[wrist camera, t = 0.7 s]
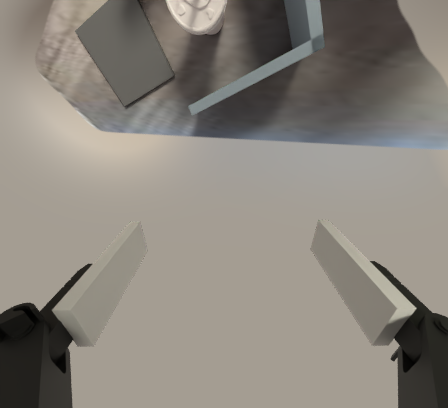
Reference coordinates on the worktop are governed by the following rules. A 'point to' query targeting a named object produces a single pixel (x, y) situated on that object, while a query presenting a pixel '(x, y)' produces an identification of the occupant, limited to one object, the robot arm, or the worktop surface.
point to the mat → (125, 49)
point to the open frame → (302, 46)
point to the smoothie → (198, 15)
